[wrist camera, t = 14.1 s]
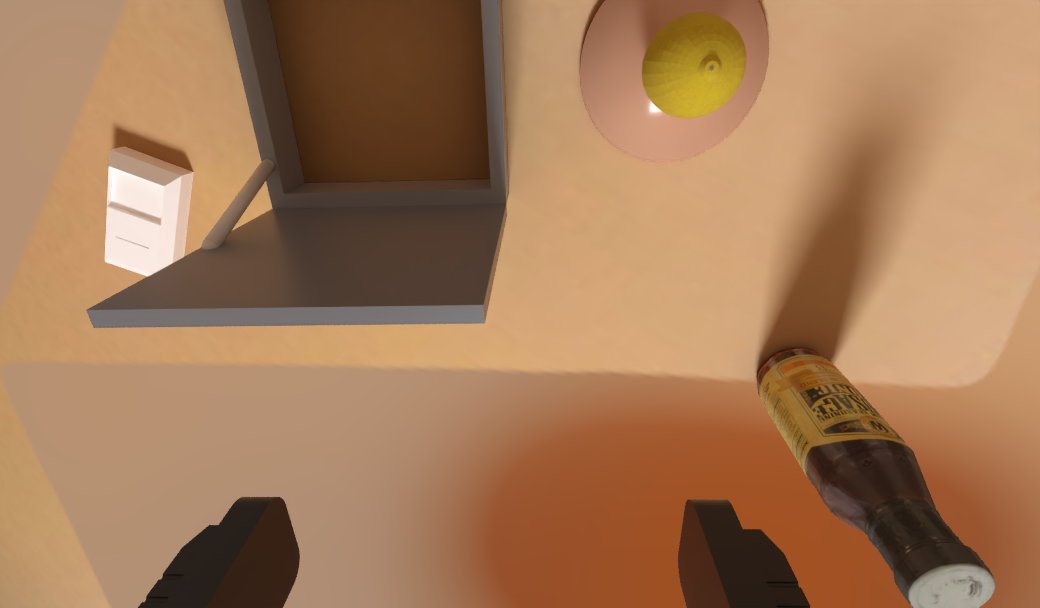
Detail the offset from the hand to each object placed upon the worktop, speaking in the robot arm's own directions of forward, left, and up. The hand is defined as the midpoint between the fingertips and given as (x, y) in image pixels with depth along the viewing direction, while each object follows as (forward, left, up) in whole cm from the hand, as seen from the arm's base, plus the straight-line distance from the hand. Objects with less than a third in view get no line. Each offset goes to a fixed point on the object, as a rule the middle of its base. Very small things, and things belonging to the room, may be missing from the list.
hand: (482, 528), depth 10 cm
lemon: (-8, +10, -30) cm, 32 cm away
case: (-8, -9, -30) cm, 32 cm away
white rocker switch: (+1, -28, -31) cm, 42 cm away
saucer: (-8, +10, -30) cm, 33 cm away
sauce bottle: (+16, +22, -30) cm, 41 cm away
